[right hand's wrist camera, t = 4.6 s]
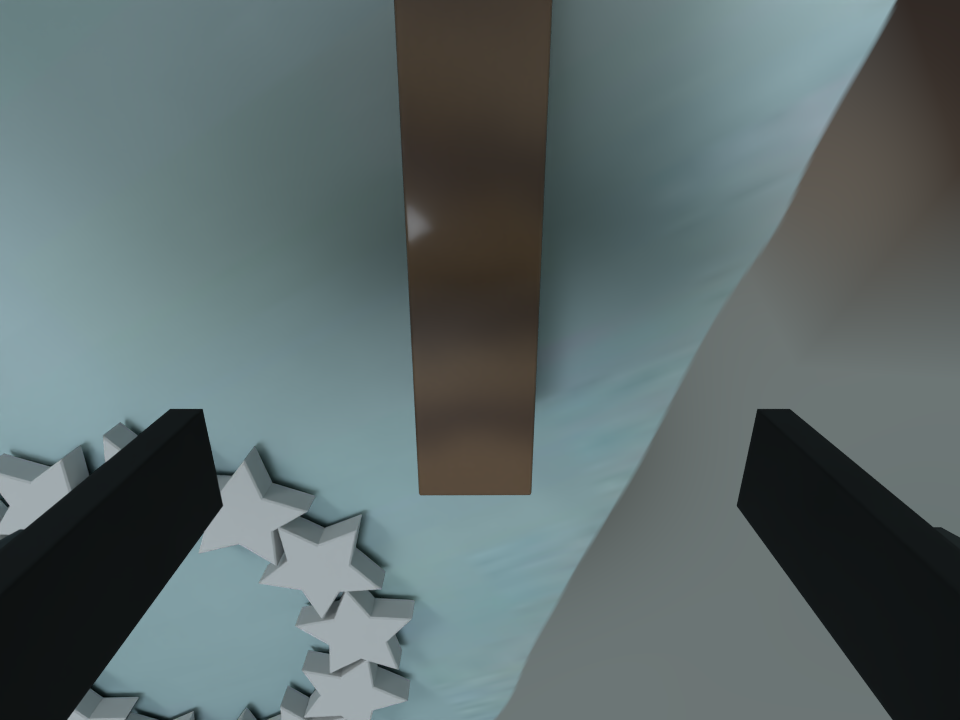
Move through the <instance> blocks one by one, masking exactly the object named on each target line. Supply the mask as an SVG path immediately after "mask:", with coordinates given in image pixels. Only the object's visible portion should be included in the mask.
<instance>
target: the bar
mask: <svg viewBox="0 0 960 720" xmlns="http://www.w3.org/2000/svg"><path fill="white" fill-rule="evenodd" d="M394 10H395V30H396V49H397V69H398V89H399V108H400V128H401V148H402V167H403V187H404V207H405V226H406V246H407V266H408V285H409V305H410V325H411V344H412V364H413V384H414V403H415V423H416V443H417V462H418V482H419V494H420V495H530V494H531V487H532V464H533V441H534V418H535V394H536V371H537V348H538V324H539V301H540V278H541V255H542V231H543V208H544V185H545V162H546V138H547V115H548V92H549V68H550V45H551V22H552V0H394Z"/></svg>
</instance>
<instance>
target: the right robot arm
mask: <svg viewBox="0 0 960 720" xmlns="http://www.w3.org/2000/svg"><path fill="white" fill-rule="evenodd" d="M222 507H223V502H222V498H221V493H220V488H219V484H218V479H217V474H216V470H215V465H214V460H213V456H212V451H211V446H210V442H209V437H208V432H207V427H206V423H205V418H204V413H203V409H170V410H168V411H167V412H166V413H165V414H164V415H162V416H161V417H160V418H159V419H157V420H156V421H155V422H154V423H153V424H151V425H150V426H149V427H148V428H147V429H145V430H144V431H143V432H142V433H141V434H139V435H138V436H137V437H136V438H134V439H133V440H132V441H131V442H130V443H128V444H127V445H126V446H125V447H124V448H122V449H121V450H120V451H119V452H117V453H116V454H115V455H114V456H113V457H111V458H110V459H109V460H108V461H107V462H105V463H104V464H103V465H102V466H100V467H99V468H98V469H97V470H96V471H94V472H93V473H92V474H91V475H90V476H88V477H87V478H86V479H85V480H84V481H82V482H81V483H80V484H79V485H77V486H76V487H75V488H74V489H73V490H71V491H70V492H69V493H68V494H67V495H65V496H64V497H63V498H62V499H60V500H59V501H58V502H57V503H56V504H54V505H53V506H52V507H51V508H50V509H48V510H47V511H46V512H45V513H43V514H42V515H41V516H40V517H39V518H37V519H36V520H35V521H34V522H33V523H31V524H30V525H29V526H28V527H27V528H25V529H19V530H17V531H16V532H14V533H12V534H10V535H8V536H6V537H5V538H3V539H1V540H0V720H68V718H69V717H70V715H71V714H72V713H73V711H74V710H75V709H76V707H77V706H78V704H79V703H80V702H81V700H82V699H83V698H84V696H85V695H86V693H87V692H88V691H89V689H90V688H91V687H92V685H93V684H94V682H95V681H96V680H97V678H98V677H99V676H100V674H101V673H102V671H103V670H104V669H105V667H106V666H107V665H108V663H109V662H110V661H111V659H112V658H113V656H114V655H115V654H116V652H117V651H118V650H119V648H120V647H121V645H122V644H123V643H124V641H125V640H126V639H127V637H128V636H129V634H130V633H131V632H132V630H133V629H134V628H135V626H136V625H137V623H138V622H139V621H140V619H141V618H142V617H143V615H144V614H145V612H146V611H147V610H148V608H149V607H150V606H151V604H152V603H153V602H154V600H155V599H156V597H157V596H158V595H159V593H160V592H161V591H162V589H163V588H164V586H165V585H166V584H167V582H168V581H169V580H170V578H171V577H172V575H173V574H174V573H175V571H176V570H177V569H178V567H179V566H180V564H181V563H182V562H183V560H184V559H185V558H186V556H187V555H188V554H189V552H190V551H191V549H192V548H193V547H194V545H195V544H196V543H197V541H198V540H199V538H200V537H201V536H202V534H203V533H204V532H205V530H206V529H207V527H208V526H209V525H210V523H211V522H212V521H213V519H214V518H215V516H216V515H217V514H218V512H219V511H220V510H221V508H222ZM737 507H738V508H739V510H740V511H741V512H742V514H743V515H744V516H745V518H746V519H747V521H748V522H749V523H750V525H751V526H752V527H753V529H754V530H755V532H756V533H757V534H758V536H759V537H760V538H761V540H762V541H763V543H764V544H765V545H766V547H767V548H768V549H769V551H770V552H771V554H772V555H773V556H774V558H775V559H776V560H777V562H778V563H779V564H780V566H781V567H782V568H783V570H784V571H785V573H786V574H787V575H788V577H789V578H790V580H791V581H792V582H793V584H794V585H795V586H796V588H797V589H798V591H799V592H800V593H801V595H802V596H803V597H804V599H805V600H806V602H807V603H808V604H809V606H810V607H811V608H812V610H813V611H814V612H815V614H816V615H817V617H818V618H819V619H820V621H821V622H822V623H823V625H824V626H825V628H826V629H827V630H828V632H829V633H830V634H831V636H832V637H833V639H834V640H835V641H836V643H837V644H838V645H839V647H840V648H841V649H842V651H843V652H844V653H845V655H846V656H847V658H848V659H849V660H850V662H851V663H852V665H853V666H854V667H855V669H856V670H857V671H858V673H859V674H860V676H861V677H862V678H863V680H864V681H865V682H866V684H867V685H868V687H869V688H870V689H871V691H872V692H873V693H874V695H875V696H876V697H877V699H878V700H879V702H880V703H881V704H882V706H883V707H884V709H885V710H886V711H887V713H888V714H889V715H890V717H891V718H892V719H893V720H960V537H958V536H956V535H954V534H952V533H950V532H949V531H947V530H945V529H943V528H941V527H932V526H931V525H930V524H929V523H927V522H926V521H925V520H924V519H923V518H921V517H920V516H919V515H918V514H917V513H915V512H914V511H913V510H912V509H910V508H909V507H908V506H907V505H905V504H904V503H903V502H902V501H901V500H899V499H898V498H897V497H896V496H895V495H893V494H892V493H891V492H890V491H889V490H887V489H886V488H885V487H884V486H883V485H881V484H880V483H879V482H878V481H876V480H875V479H874V478H873V477H872V476H870V475H869V474H868V473H867V472H866V471H864V470H863V469H862V468H861V467H859V466H858V465H857V464H856V463H855V462H853V461H852V460H851V459H850V458H849V457H847V456H846V455H845V454H844V453H843V452H841V451H840V450H839V449H838V448H836V447H835V446H834V445H833V444H832V443H830V442H829V441H828V440H827V439H826V438H824V437H823V436H822V435H821V434H819V433H818V432H817V431H816V430H815V429H813V428H812V427H811V426H810V425H809V424H807V423H806V422H805V421H804V420H802V419H801V418H800V417H799V416H798V415H796V414H795V413H794V412H793V411H792V410H790V409H757V413H756V418H755V423H754V427H753V432H752V437H751V442H750V446H749V451H748V456H747V460H746V465H745V470H744V474H743V479H742V484H741V488H740V493H739V498H738V502H737Z"/></svg>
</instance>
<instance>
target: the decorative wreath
mask: <svg viewBox="0 0 960 720" xmlns="http://www.w3.org/2000/svg"><path fill="white" fill-rule="evenodd" d="M137 436H138V435H136V434H135V433H134V432H133V431H131V430H130V429H129V428H127V427H126V426H125V425H123V424H122V423H121V422H120V423H119V424H117V425H116V426H115V427H113V428H112V429H111V430H109V431H108V432H107V433H105V434H104V435H103V442H104V455H105V462H107V461H108V460H109V459H110V458H111V457H113V456H114V455H115V454H116V453H117V452H119V451H120V450H121V449H122V448H124V447H125V446H126V445H127V444H128V443H130V442H131V441H132V440H133V439H134V438H136V437H137ZM88 476H90V475H89V473H88V469H87V466H86V462H85V458H84V455H83V451H82V447H81V445H80V446H79V447H77V448H76V449H74V450H73V451H72V452H70V453H69V454H68V455H66V456H65V457H64V458H62V459H61V460H60V461H58V462H57V463H56V464H54V465H53V466H52V467H50V466H46V465H43V464H39V463H35V462H32V461H28V460H25V459H21V458H18V457H14V456H11V455H7V454H3V455H1V456H0V493H1V495H2V496H3V497H4V499H5V500H6V501H7V503H8V504H9V505H10V506H9V508H8V507H7V506H6V505H5V504H4V503H3V502H2V501H1V500H0V540H1V539H3V538H5V537H6V536H8V535H10V534H12V533H14V532H16V531H17V530H19V529H25V528H27V527H28V526H29V525H30V524H31V523H33V522H34V521H35V520H36V519H37V518H39V517H40V516H41V515H42V514H43V513H45V512H46V511H47V510H48V509H50V508H51V507H52V506H53V505H54V504H56V503H57V502H58V501H59V500H60V499H62V498H63V497H64V496H65V495H67V494H68V493H69V492H70V491H71V490H73V489H74V488H75V487H76V486H77V485H79V484H80V483H81V482H82V481H84V480H85V479H86V478H87V477H88ZM217 479H218V484H219V488H220V493H221V498H222V502H223V507H222V508H221V510H220V511H219V512H218V514H217V515H216V516H215V518H214V519H213V521H212V522H211V523H210V525H209V526H208V527H207V529H206V530H205V532H204V535H203V539H202V543H201V547H200V550H199V553H203V552H207V551H212V550H216V549H220V548H225V547H229V546H233V545H237V544H240V545H241V546H243V547H245V548H247V549H248V550H250V551H252V552H253V553H255V554H257V555H259V556H260V557H262V558H264V559H265V560H267V561H269V562H271V563H270V564H269V565H268V566H267V568H266V570H265V572H264V574H263V575H262V577H261V579H260V581H259V583H260V584H266V585H272V586H279V587H285V588H291V589H298V590H302V591H303V593H304V594H305V596H306V597H307V599H308V600H309V601H310V603H311V604H312V605H311V606H305V607H302V609H301V612H300V614H299V617H298V620H297V622H296V625H295V626H296V627H297V628H299V629H301V630H303V631H305V632H306V633H308V634H310V635H312V636H314V637H315V638H317V639H319V640H321V641H323V642H324V643H326V644H328V645H329V654H328V653H322V652H317V651H311V650H308V653H307V656H306V659H305V662H304V665H303V668H302V671H303V672H304V674H305V675H306V676H307V678H308V679H309V680H310V682H311V683H312V684H313V686H314V687H315V688H316V690H315V691H314V692H313V694H312V695H311V696H310V698H309V697H308V696H306V695H304V694H302V693H301V692H299V691H297V690H295V689H294V688H292V687H290V686H287V689H286V692H285V695H284V697H283V700H282V703H281V714H280V715H277V716H275V717H272V718H270V719H268V720H371V717H372V713H373V710H376V709H380V708H383V707H387V706H391V705H394V704H398V703H402V702H405V701H408V694H409V686H410V680H409V679H407V678H404V677H402V676H400V675H397V674H395V673H393V672H390V671H388V670H385V669H383V668H381V667H378V665H377V664H381V665H384V666H388V667H391V668H394V669H399V666H400V659H401V652H402V649H401V647H400V644H399V642H398V639H397V637H396V633H397V632H398V631H399V630H400V629H401V628H402V627H404V626H405V625H406V624H407V623H408V622H409V621H410V620H411V619H412V616H413V609H414V602H415V600H405V599H384V598H374V596H373V595H372V594H371V593H370V592H369V591H368V590H378V589H382V585H383V580H384V576H385V571H384V570H383V569H382V568H381V567H380V566H378V565H377V564H376V563H375V562H373V561H372V560H371V559H370V558H369V557H367V556H366V555H365V554H364V553H362V552H361V551H360V550H359V549H357V548H356V543H357V538H358V533H359V528H360V522H361V517H362V514H360V515H358V516H355V517H352V518H350V519H347V520H344V521H342V522H339V523H336V524H334V525H331V526H328V527H326V528H324V527H322V526H320V525H317V524H315V523H313V522H311V521H309V520H307V519H305V518H302V517H300V516H301V515H303V514H304V513H306V512H308V510H309V508H310V506H311V504H312V502H313V500H314V498H315V495H311V494H308V493H305V492H301V491H298V490H295V489H291V488H288V487H285V486H281V485H278V484H275V483H272V481H271V479H270V477H269V475H268V472H267V470H266V468H265V466H264V464H263V462H262V460H261V458H260V456H259V453H258V451H257V449H256V447H255V446H254V448H253V449H252V450H251V452H250V453H249V454H248V456H247V457H246V458H245V460H244V461H243V462H242V464H241V465H240V466H239V468H238V469H237V470H236V472H235V473H234V474H233V476H226V475H217ZM284 551H285V552H284ZM339 592H343V594H342V596H341V599H340V600H339V601H334V600H335V598H336V597H337V595H338V594H339ZM138 698H139V697H109V698H103V697H102V696H100V695H99V694H97V693H96V692H95V691H93V690H92V689H89V691H88V692H87V693H86V695H85V696H84V698H83V699H82V700H81V702H80V703H79V704H78V706H77V707H76V709H75V710H74V711H73V713H72V714H71V715H70V717H69V718H68V720H158V719H154V718H151V717H147V716H144V715H141V714H137V713H134V712H131V713H130V715H129V716H128V714H129V712H130V711H131V709H132V708H133V706H134V704H135V703H136V701H137V700H138ZM127 716H128V718H126V717H127ZM174 720H195V718H194V711H192V712H190V713H188V714H185V715H183V716H181V717H178V718H176V719H174ZM238 720H257V719H256V718H255V717H254V716H253V714H252V713H251V712H250V710H249V709H248V708H247V707H246V708H245V710H244V711H243V713H242V714H241V715H240V717H239V718H238Z"/></svg>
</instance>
